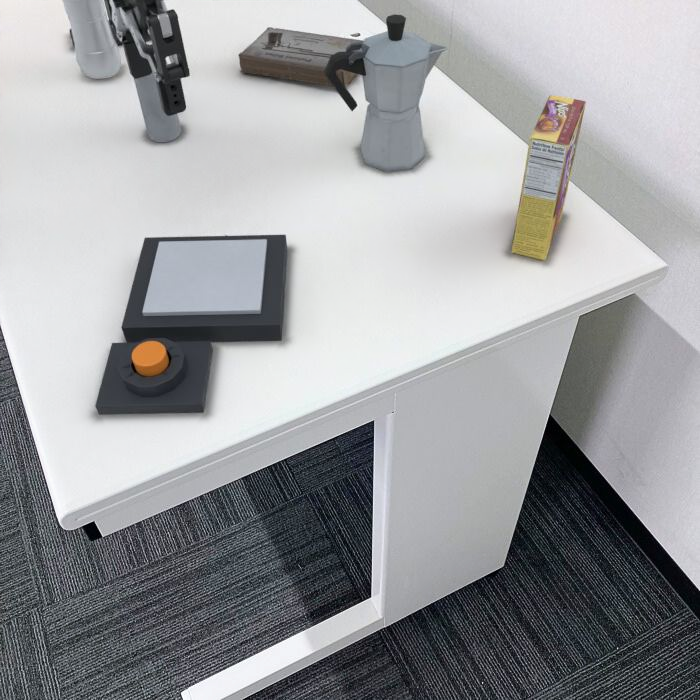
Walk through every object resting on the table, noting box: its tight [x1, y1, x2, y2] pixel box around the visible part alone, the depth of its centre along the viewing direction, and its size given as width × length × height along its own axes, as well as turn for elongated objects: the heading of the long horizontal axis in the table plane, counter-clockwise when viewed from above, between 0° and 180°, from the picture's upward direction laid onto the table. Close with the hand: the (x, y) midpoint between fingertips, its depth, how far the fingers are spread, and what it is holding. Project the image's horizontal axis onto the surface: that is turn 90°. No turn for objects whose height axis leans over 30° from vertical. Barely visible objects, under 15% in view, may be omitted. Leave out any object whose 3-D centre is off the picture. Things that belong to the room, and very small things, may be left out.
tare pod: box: [95, 338, 214, 415], centre depth 72 cm, size 10×8×3 cm
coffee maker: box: [324, 13, 448, 173], centre depth 91 cm, size 15×9×18 cm, turn 100°
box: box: [238, 26, 364, 88], centre depth 112 cm, size 11×17×3 cm, turn 68°
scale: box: [121, 234, 288, 343], centre depth 80 cm, size 16×14×3 cm
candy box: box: [511, 94, 587, 261], centre depth 81 cm, size 9×4×15 cm, turn 157°
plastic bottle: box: [61, 0, 123, 80], centre depth 106 cm, size 6×7×20 cm
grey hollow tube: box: [132, 58, 182, 143], centre depth 98 cm, size 4×4×10 cm
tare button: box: [132, 341, 169, 376], centre depth 70 cm, size 3×3×2 cm
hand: (158, 93), depth 75 cm, fingers open, 8 cm apart
